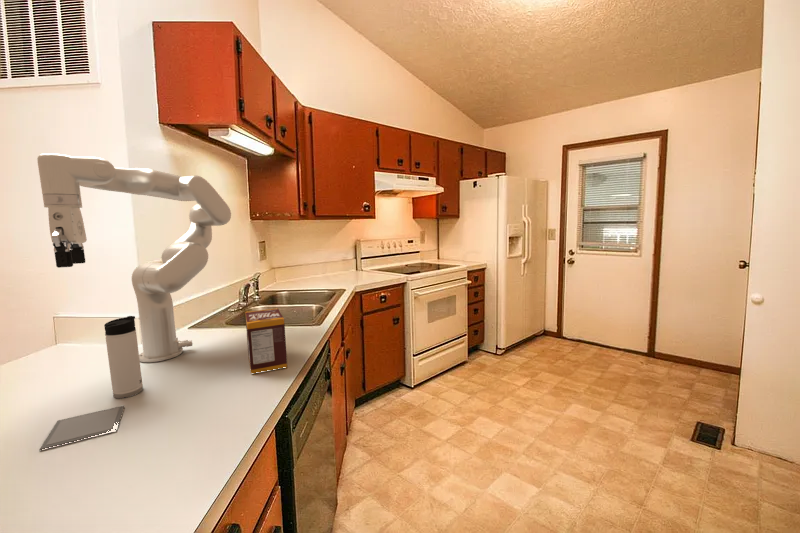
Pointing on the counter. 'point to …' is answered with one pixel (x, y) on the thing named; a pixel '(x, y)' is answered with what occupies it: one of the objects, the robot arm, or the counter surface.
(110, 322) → the travel mug
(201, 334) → the counter surface
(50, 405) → the counter surface
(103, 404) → the counter surface
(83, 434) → the mat
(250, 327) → the supplement box
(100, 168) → the robot arm
